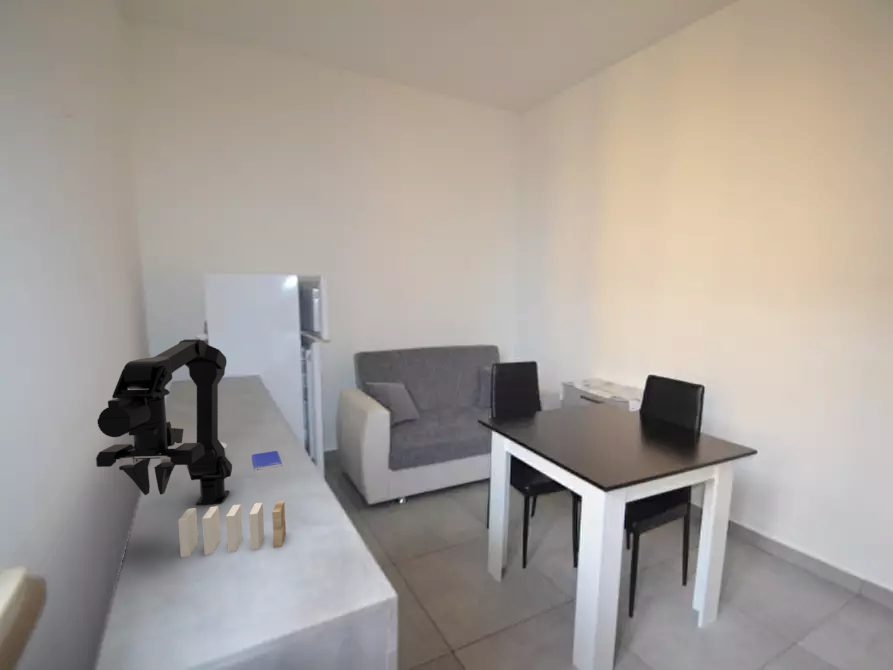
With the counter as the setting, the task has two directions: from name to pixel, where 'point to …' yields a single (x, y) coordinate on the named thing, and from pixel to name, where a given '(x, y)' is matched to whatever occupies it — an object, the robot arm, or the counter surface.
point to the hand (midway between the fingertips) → (154, 493)
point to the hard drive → (266, 460)
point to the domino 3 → (234, 528)
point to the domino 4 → (256, 526)
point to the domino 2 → (211, 530)
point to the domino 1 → (188, 532)
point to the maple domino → (279, 523)
